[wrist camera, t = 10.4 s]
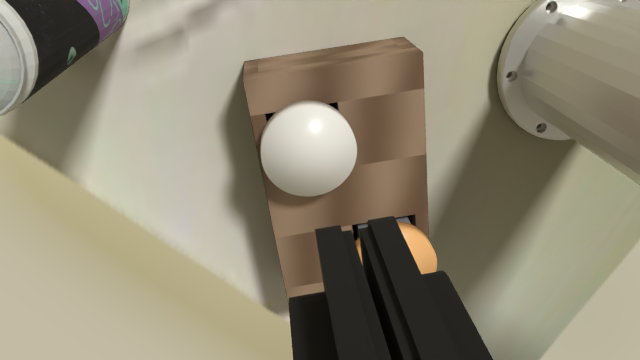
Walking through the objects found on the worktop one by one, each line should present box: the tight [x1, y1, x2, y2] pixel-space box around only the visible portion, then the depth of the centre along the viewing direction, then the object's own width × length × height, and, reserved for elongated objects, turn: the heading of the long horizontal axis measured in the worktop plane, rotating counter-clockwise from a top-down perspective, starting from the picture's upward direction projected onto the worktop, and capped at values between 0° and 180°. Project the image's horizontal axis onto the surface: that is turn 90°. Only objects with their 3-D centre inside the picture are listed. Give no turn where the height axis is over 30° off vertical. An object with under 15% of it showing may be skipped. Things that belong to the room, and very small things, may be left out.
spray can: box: [0, 0, 130, 116], centre depth 25 cm, size 6×6×20 cm
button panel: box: [243, 37, 429, 304], centre depth 40 cm, size 12×20×5 cm, turn 7°
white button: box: [261, 100, 357, 197], centre depth 36 cm, size 6×6×7 cm
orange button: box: [353, 216, 437, 274], centre depth 40 cm, size 6×6×7 cm
